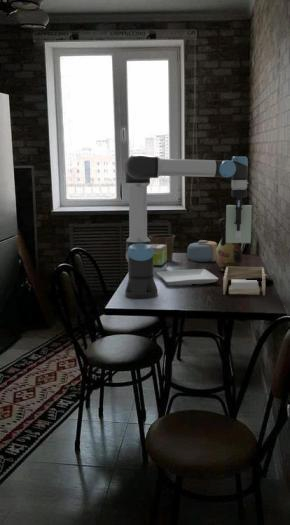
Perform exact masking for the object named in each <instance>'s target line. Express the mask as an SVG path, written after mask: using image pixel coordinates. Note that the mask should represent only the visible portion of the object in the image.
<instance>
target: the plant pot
mask: <svg viewBox="0 0 290 525" xmlns="http://www.w3.org/2000/svg"><path fill="white" fill-rule="evenodd" d="M175 237H176V235H175V234H153V235H149V236H148V238H149V239H150V245H151V244H157V245H167V263H171V262H172V261H173V256H174V243H175Z"/></svg>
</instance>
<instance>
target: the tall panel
mask: <svg viewBox="0 0 290 525" xmlns="http://www.w3.org/2000/svg"><path fill="white" fill-rule="evenodd" d="M225 207H226V209H225V211H226V212H225V218H226V222H225V224H226V243H238V244H251V242H252V241H251V240H252V209H253V208H252V205H250V204H246V205H245V204H243V205H242V206H241V208H242V210H241V238H236V237H235V227H236V224H234V223H236V222H235V221H236V210H235V208H236V206H235V204H227V205H226V206H225Z"/></svg>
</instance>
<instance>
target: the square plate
mask: <svg viewBox="0 0 290 525" xmlns="http://www.w3.org/2000/svg"><path fill="white" fill-rule="evenodd" d="M156 273H157V276H159V278H160V279H162V280H163V281H164V282H165V284H166V285H168V286H172V287H174V286H178V287H179V286H192V284H196V285H206V284H212V283H215V282H217V281H218V280H219V278H218V277H217V275H215V274H213V273H212V272H210V271H209V270H207V269H205V268H198V269H177V270H176V269H175V270H165V271H162V272H156ZM156 273H155V274H156Z"/></svg>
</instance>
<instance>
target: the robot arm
mask: <svg viewBox="0 0 290 525" xmlns="http://www.w3.org/2000/svg"><path fill="white" fill-rule="evenodd" d="M248 163H249V159H248V157H247V156H232V158H231V160H229V159H224V160H222V159H220V160H219V159H184V158H183V159H181V158H160V157H159V156H156V155H155V156H154V155H147V154H142V153H135V154H132V155H130V156H129V157H128V158H126V161H125V163H124V172H125V184H126V185H127V186H128V216H129V217H128V219H129V220H128V221H129V222H128V223H129V225H128V226H129V227H128V228H129V229H128V230H129V231H128V232H129V236H128V238H126V241H125V243H126V251H125V258H126V261H127V263H128V266H127V267H128V268H127V269H128V280H127V283H126V286H125V291H124V293H125V294H124V295H125V297H126V298H129V299H142V300H144V299H151V298H155V297H157V296H158V288H157V285H156V281H155V278H154V277H155V276H154V274H155V273H154V271H153V254H154V252H153V247H152V246H151V241H150V237H149V236H148V186H149V185H150V184H151V179H158V178H159V177H198V178H199V177H200V178H201V177H203V178H204V177H205V178H206V177H208V178H210V177H211V178H230V177H231V190H230V191H231V197H232V198H236V200H234V205H235V206H236V208H235V210H236V221H235V222H236V223H234V224H236V227H235V237H236V238H241V210H242V208H241V206H242V205H244V200H243V199H242V198H247V197H248V184H249V182H248V170H249V164H248Z"/></svg>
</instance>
